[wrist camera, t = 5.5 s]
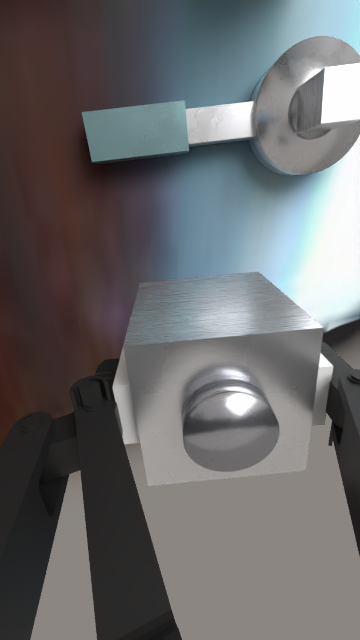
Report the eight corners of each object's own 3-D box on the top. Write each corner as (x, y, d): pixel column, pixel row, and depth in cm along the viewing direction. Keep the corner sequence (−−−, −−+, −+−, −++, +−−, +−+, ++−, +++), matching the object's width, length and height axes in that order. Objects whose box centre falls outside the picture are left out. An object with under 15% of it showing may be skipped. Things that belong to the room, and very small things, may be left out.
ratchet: (104, 197, 28) (86, 200, 21) (81, 78, 24) (49, 35, 17) (341, 169, 28) (400, 163, 21) (354, 47, 24) (430, -9, 17)
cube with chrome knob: (154, 381, 19) (146, 510, 11) (140, 282, 16) (118, 363, 8) (255, 371, 19) (317, 493, 11) (258, 271, 16) (340, 342, 9)
